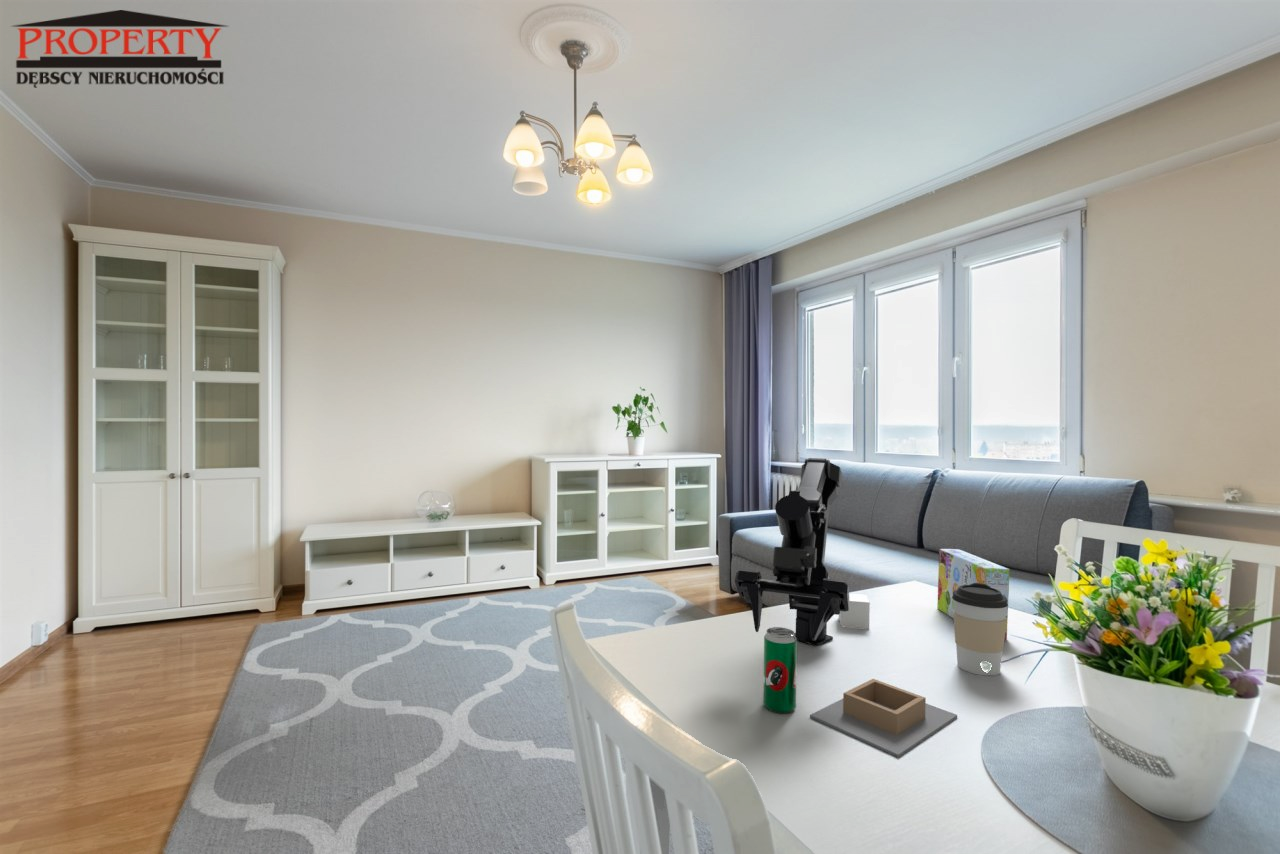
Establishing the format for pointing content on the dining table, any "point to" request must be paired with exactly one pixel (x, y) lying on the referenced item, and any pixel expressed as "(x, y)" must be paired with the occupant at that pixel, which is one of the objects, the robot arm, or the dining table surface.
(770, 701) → the soda can
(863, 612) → the white cube
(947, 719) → the can holder
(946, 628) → the dining table surface
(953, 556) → the snack box
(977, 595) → the coffee cup
